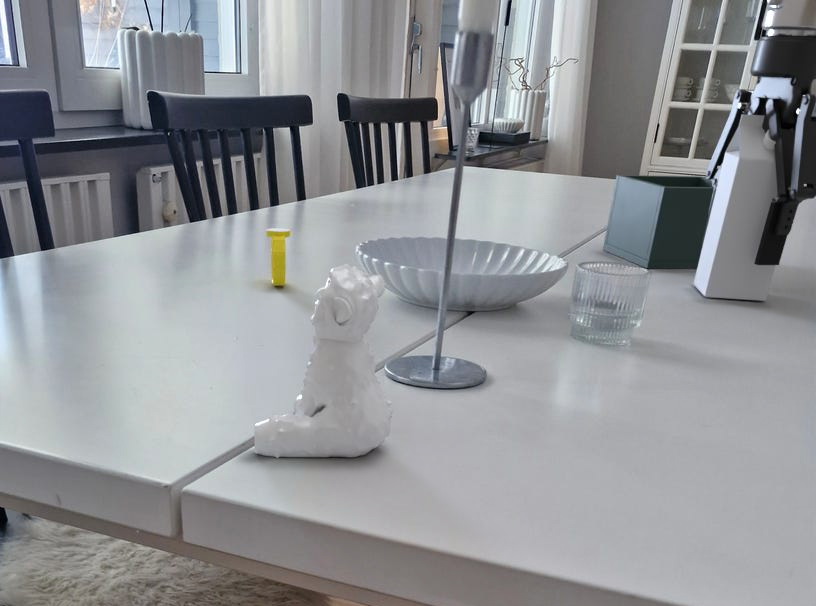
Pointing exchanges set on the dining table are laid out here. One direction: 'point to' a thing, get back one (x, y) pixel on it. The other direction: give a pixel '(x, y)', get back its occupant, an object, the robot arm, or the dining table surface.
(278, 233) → the yellow capped post
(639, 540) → the dining table surface
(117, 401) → the dining table surface
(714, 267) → the milk carton
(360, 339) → the white creature statuette
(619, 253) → the box
